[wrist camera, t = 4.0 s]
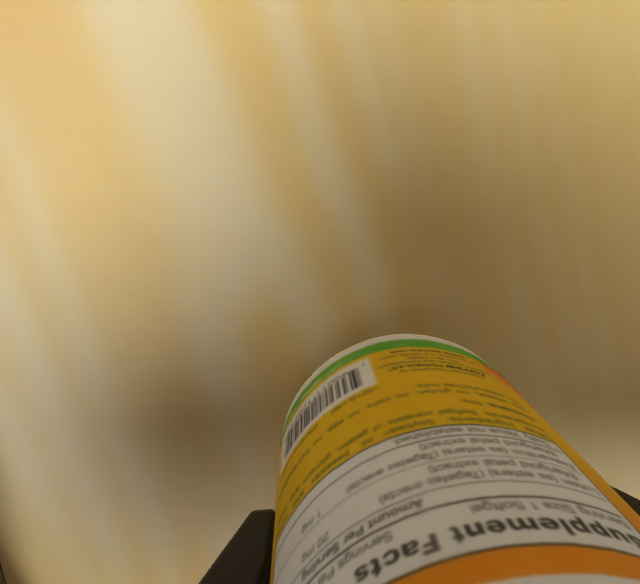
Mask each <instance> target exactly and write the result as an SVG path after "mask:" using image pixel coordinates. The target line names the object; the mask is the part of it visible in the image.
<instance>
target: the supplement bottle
mask: <svg viewBox="0 0 640 584" xmlns="http://www.w3.org/2000/svg"><path fill="white" fill-rule="evenodd" d="M270 584H640V516H639V515H638V514H637V513H636V512H635V511H634V510H633V509H632V508H631V507H630V506H629V505H628V504H627V503H626V502H625V501H624V500H623V499H622V498H621V497H620V496H619V495H618V494H617V493H616V492H615V491H614V490H613V488H612V487H611V486H610V485H609V484H608V483H607V482H606V481H605V480H604V479H603V478H602V477H601V476H600V475H599V474H598V473H597V472H596V471H595V470H594V469H593V468H592V467H591V466H590V465H589V464H588V463H587V462H586V461H585V460H584V459H583V458H582V457H581V456H580V455H579V454H578V453H577V452H576V451H575V450H574V449H573V448H572V447H571V446H570V445H569V444H568V443H567V442H566V441H565V440H564V439H563V438H562V437H561V436H560V435H559V434H558V433H557V432H556V431H555V430H554V429H553V428H552V427H551V426H550V425H549V424H548V423H547V422H546V421H545V419H544V418H543V417H542V416H541V415H540V414H539V413H538V412H537V411H536V410H535V409H534V408H533V407H532V406H531V405H530V404H529V403H528V402H527V401H526V400H525V399H524V398H523V397H522V396H521V395H520V394H519V393H518V392H517V391H516V390H515V389H514V388H513V387H512V386H511V385H510V384H509V383H508V382H507V380H506V379H505V378H504V377H503V376H501V375H500V374H499V373H498V372H497V371H496V370H495V369H494V368H493V367H492V366H490V365H489V364H488V363H487V362H486V361H485V360H483V359H482V358H481V357H479V356H478V355H476V354H475V353H473V352H472V351H470V350H468V349H466V348H464V347H462V346H460V345H458V344H456V343H453V342H450V341H447V340H444V339H441V338H436V337H432V336H427V335H419V334H392V335H386V336H380V337H376V338H372V339H369V340H365V341H363V342H360V343H357V344H355V345H353V346H351V347H349V348H347V349H345V350H343V351H341V352H339V353H338V354H336V355H335V356H333V357H331V358H330V359H329V360H327V361H326V362H325V363H323V364H322V365H321V366H320V367H319V368H318V369H317V370H315V372H314V373H313V374H312V375H311V376H310V377H309V378H308V379H307V381H306V382H305V383H304V384H303V386H302V387H301V388H300V390H299V391H298V393H297V394H296V396H295V398H294V400H293V402H292V404H291V406H290V408H289V411H288V413H287V416H286V419H285V423H284V427H283V431H282V438H281V445H280V454H279V465H278V478H277V491H276V504H275V523H274V536H273V549H272V562H271V574H270Z"/></svg>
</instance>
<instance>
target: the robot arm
mask: <svg viewBox="0 0 640 584" xmlns="http://www.w3.org/2000/svg"><path fill="white" fill-rule="evenodd" d="M611 487H612V486H611ZM612 488H613V490H614V491H615V492H616V493H617V494H618V495H619V496H620V497H621V498H622V499H623V500H624V501H625V502H626V503H627V504H628V505H629V506H630V507H631V508H632V509H633V510H634V511H635V512H636V513H637V514H638V515H639V516H640V500H638V499H636V498H634V497H632V496H630V495H628V494H626V493H624V492H622V491H620V490H618V489H616V488H614V487H612ZM274 523H275V511H274V510H273V509H267V510H255V511H252V512H251V513H250V514H249V516H248V517H247V518H246V520H245V521H244V522H243V524H242V525H241V527H240V528H239V529H238V531H237V532H236V533H235V535H234V536H233V537H232V539H231V540H230V541H229V543H228V544H227V546H226V547H225V548H224V550H223V551H222V552H221V554H220V555H219V556H218V558H217V559H216V560H215V562H214V563H213V565H212V566H211V567H210V569H209V570H208V571H207V573H206V574H205V575H204V577H203V578H202V579H201V581H200V582H199V584H270V574H271V562H272V549H273V536H274Z"/></svg>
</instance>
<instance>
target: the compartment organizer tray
mask: <svg viewBox="0 0 640 584" xmlns="http://www.w3.org/2000/svg"><path fill="white" fill-rule="evenodd" d="M0 584H5V582H4V579H3V576H2V572H1V569H0Z"/></svg>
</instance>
